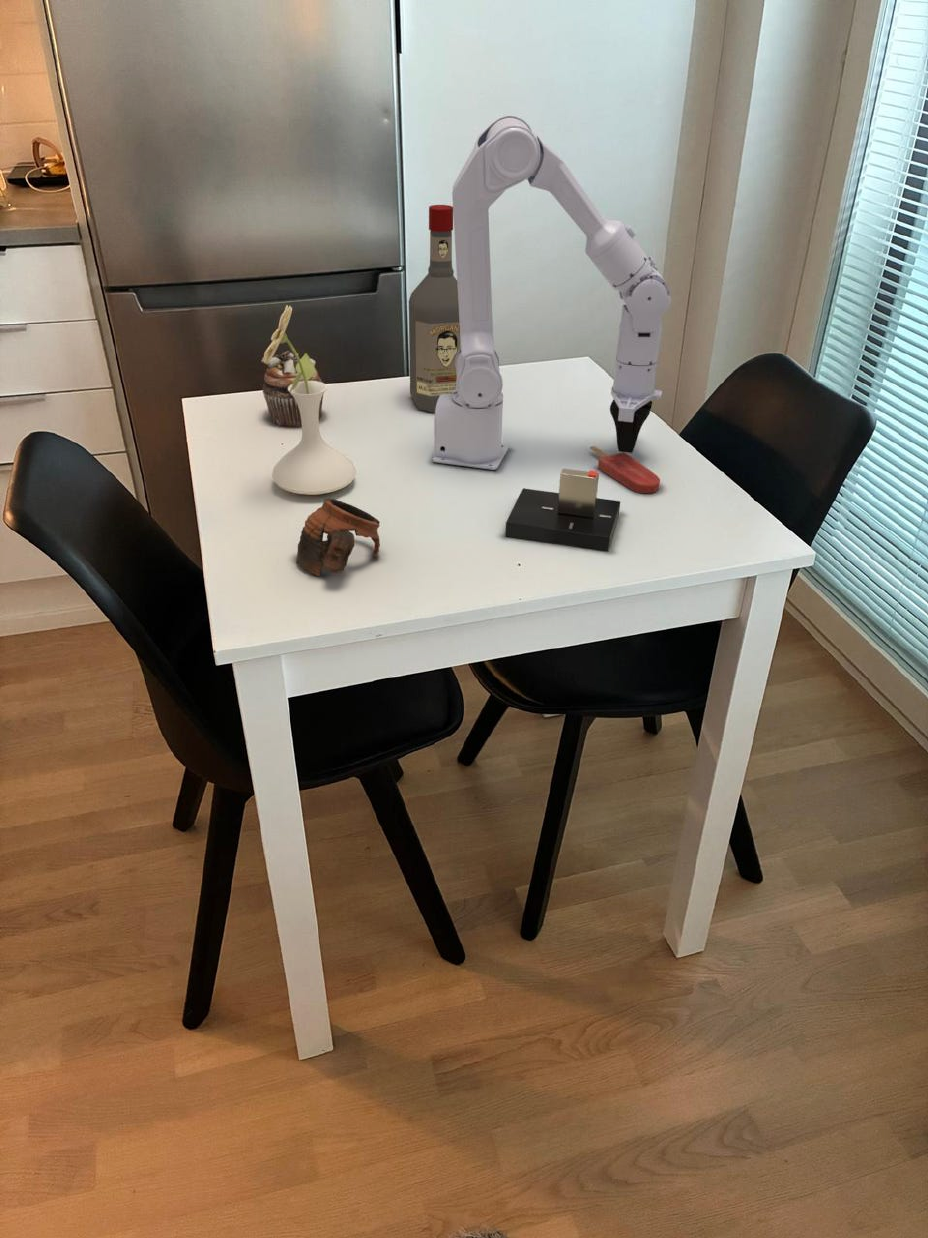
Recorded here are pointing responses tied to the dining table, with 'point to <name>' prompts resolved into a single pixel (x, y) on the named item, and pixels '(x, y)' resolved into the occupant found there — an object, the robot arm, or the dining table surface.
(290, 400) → the cupcake
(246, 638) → the dining table surface
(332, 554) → the pottery mug
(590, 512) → the knob
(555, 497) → the knob box
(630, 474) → the popsicle
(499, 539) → the dining table surface
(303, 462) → the flower in vase
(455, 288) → the liquor
